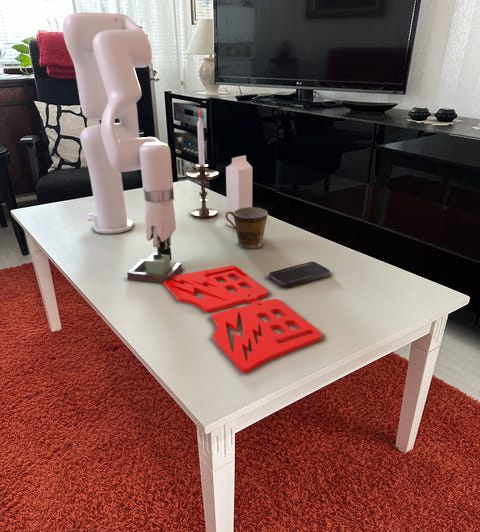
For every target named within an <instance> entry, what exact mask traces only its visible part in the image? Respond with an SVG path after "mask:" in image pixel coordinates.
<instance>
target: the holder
mask: <svg viewBox="0 0 480 532" xmlns="http://www.w3.org/2000/svg"><path fill="white" fill-rule="evenodd" d="M146 259H147V258H141V259H140V260H139V261H138V262H137V263H136V264H135V265H133V267H132V268H130V269H129V271H127V273H126V274H127V276H126V277H127V280H128V281H136V282H146V283H153V284H161V285H162V284H163V281H170V279H171V278H172V277H173V276H174V275H180V272H181V271H182V270H183V265H182V262H176V263H175V264H174V266H173V267H171V269H170V270H169V271H168V272H167V274H166V275H162V274H153V273H146V272H143V270H145V269H146V266H145V260H146ZM163 285H164V284H163Z"/></svg>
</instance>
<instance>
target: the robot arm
mask: <svg viewBox="0 0 480 532" xmlns="http://www.w3.org/2000/svg"><path fill="white" fill-rule="evenodd" d="M62 33H63V35H62V36H63V39H64V43H65V46H66V49H67V51H68V53H69V56H70V59H71V60H72V64H73V67H74V71H75V78H76V84H77V90H78V97H79V103H80V108H81V112H82V114H83V116H84V117H85V118H86V119H87V120H90V121H101V122H100V124H95V125H89V126H87V127H85V128H83V130H81V132H80V135H79V138H80V140H79V141H80V145H81V148H82V151H83V154H84V157H85V160H86V164H87V168H88V174H89V180H90V185H91V191H92V197H93V203H94V210H95V213H93V212H88V213H87V215H86V220H87V221H88V222H94V224H93V226H92V227H93V230H94V231H95V232H96V233H99V234H106V235H111V234H113V235H114V234H119V233H120V234H121V233H124V232H127V231H130V230H131V229H132V228H133V226H134V224H133V221H131V220H130V219H129V218H128V214H127V208H126V200H125V199H126V198H125V193H124V192H125V191H124V186H123V185H124V184H123V177H122V173H126V172H131V171H132V172H134V171H140V170H141V172H140V173H141V180H142V189H143V200H144V203H145V204H144V227H145V228H144V229H145V238H146V241H152V246H153V248H156V249H157V252H161V254H164V255H170V262H171V261H172V259H173V258H172V248H171V246H172V239H171V238H172V235H173V233H175V231H176V229H177V228H176V227H177V225H176V213H175V208H174V207H175V206H174V201H175V192H174V181H173V170H172V169H173V168H172V166H173V165H172V155H171V153H172V152H171V148H170V146H169V145H168V144H167V143H165V142H161V141H160V140H159V139H158V138H157V137H153V136H147V137H140V128H139V127H140V125H139V118H138V107H137V105H138V104H137V103H138V102H139V101H140V99H141V97H142V89H141V85H140V83H139V80H138V76H137V73H136V69H137V68H138V69H139V68H147V67H149V66H150V65H151V63H152V61H153V48H152V45H151V41H150V39H149V37H148V35H147V33H146V32H145V31H144V29H142V28H141V27H140V25H139V24H138V23H136V22H135V21H134V20H133V19H132V18H131V17H130V16H128V15H126V14H124V13H116V12H115V13H114V12H91V11H90V12H86V11H85V12H75V13H70V14H68V15H66V17H64V19H63V24H62ZM116 120H119V122H117V123H116Z"/></svg>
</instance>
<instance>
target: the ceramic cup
mask: <svg viewBox="0 0 480 532" xmlns="http://www.w3.org/2000/svg"><path fill="white" fill-rule="evenodd" d="M228 214H231V215H233V216H234V221H235V225H234V224H233V223H232V222H231V221H230V220H229V219H228V217H227V215H228ZM268 215H269V214H268V210H266V209H265V208H264V209H263V208H262V207H261V208H260V207H256V206H255V207H253V206H252V207H246V208H240V209H237V210H235V211H234V212H231V211H230V212H227V211H226V214H225V219H226V221H227V220H228V221H229V222H230V223H231V224H232V225H233V227H232V228H234V229H235V230H236V237H237V241H238V245H239V246H240V247H241V248H242V249H248V250H253V249H258V248H260V247H261V246H262V244H263V240H264V235H265V229H266V224H267V221H268V220H267V219H268Z"/></svg>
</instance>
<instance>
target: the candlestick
mask: <svg viewBox="0 0 480 532" xmlns="http://www.w3.org/2000/svg"><path fill="white" fill-rule="evenodd" d="M201 116H202V110H201V107H199V108H198V121H197V123H196V126H197V148H198V163H197V164H196V165H195V166H196V167H198V169H192V170H189V171H187V172H186V173H185V174H186V178H187V179H189V180H193V181H198V182H199V181H200V191H199V193H198V194H199V196H200V199H199V202H201V208H200V207H199V208H196V209H193V210H192V211H191V217H193V218H195V219H201V220H202V219H205V220H206V219H213V218H215V217H217V215H218V210H216V209H215V208H210V207H207V202H208V199H207V196H208V192H207V191H206V183H205V182H206V181H210V180H214V179H217V178H219V171H217V170H215V169H210V168H209V169H206V167H208V166H209V164H207V163H206V161H205V158H206V157H205V135H204V134H205V133H204V122H203V121H202V117H201Z"/></svg>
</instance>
